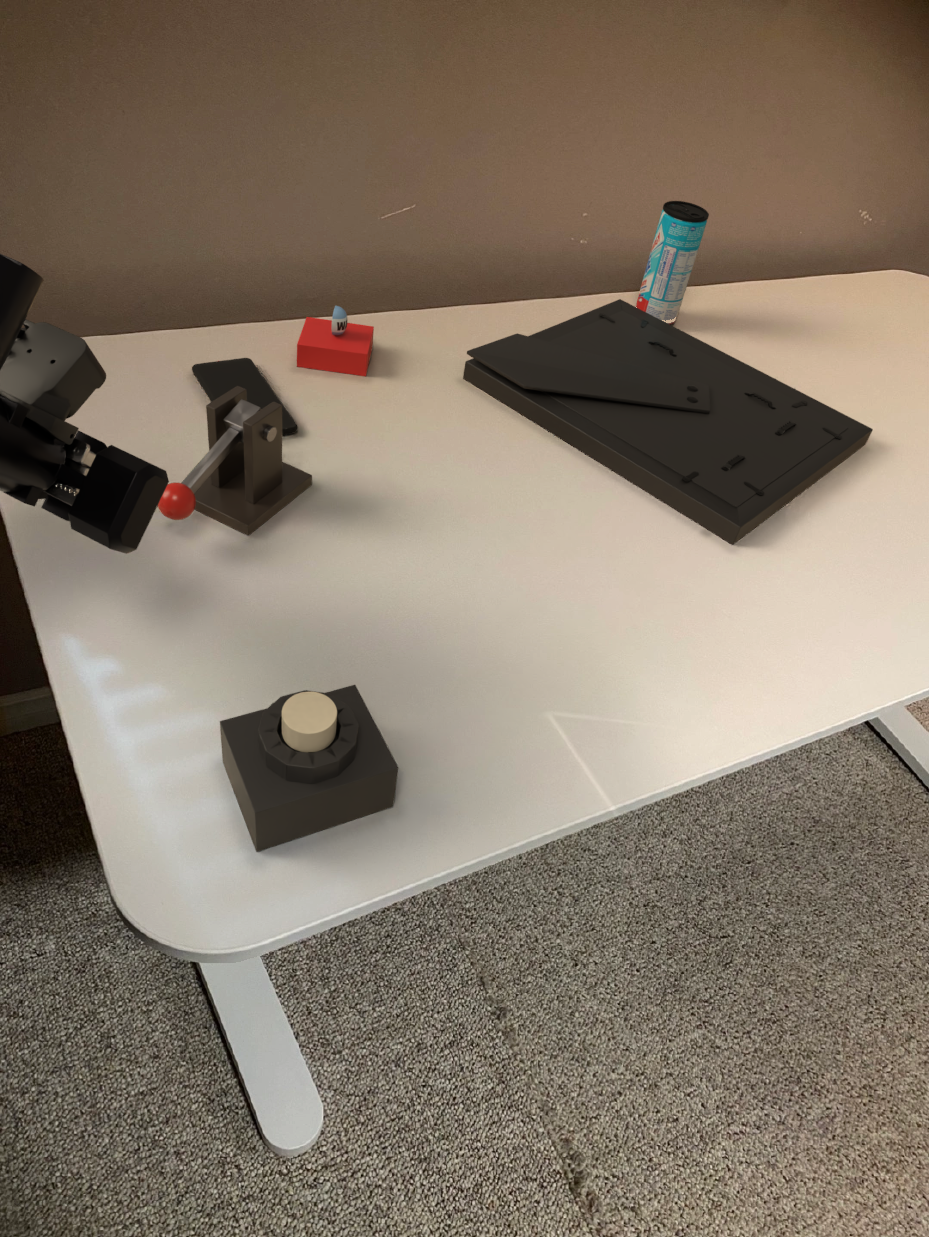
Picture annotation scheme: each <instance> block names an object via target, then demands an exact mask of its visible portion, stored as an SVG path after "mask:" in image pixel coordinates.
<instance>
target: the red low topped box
mask: <svg viewBox="0 0 929 1237" xmlns="http://www.w3.org/2000/svg"><path fill="white" fill-rule="evenodd" d="M374 329H375V326H373V325H368V324H367V325H366V324H359V323H352V322H348V314H347V312H346V310H345V309H344V308H343V307H341V306H339V305H334V309H333V312H332V318H331V319H324V318H317V317H310V316H306V317H305V320H304V323H303V326H302V329H301V331H300V334H299V338H298V340H297V343H296V368H304V369H312V370H318V371H326V372H331V373H333V372H334V373H339V374H340V373H341V374H347V375H348V374H349V375H354V376H355V375H356V376H361V377H367V374H368V369H369V365H370V359H371V356H372V351H373V345H374V344H373V342H374V331H375V330H374Z"/></svg>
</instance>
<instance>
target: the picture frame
mask: <svg viewBox="0 0 929 1237" xmlns="http://www.w3.org/2000/svg"><path fill="white" fill-rule="evenodd" d="M635 306H636V305H632V304H630V303H628V302H626V301H625V300H623V299H621V298H619V299H617V300H614V301H611V302H609V303H607V304H604V305H602V306H599V307H597V308H594V309H592V310H589V311H587V312H585V313H582V314H579V315H577V316H574V317H572V318H570V319H567V320H565V321H562V322H559V323H557V324H554V325H553V326H550V327H547V328H545V329H542V330H540V331H537V332H535V333H532V334H530V335H525V334H521V333H514V334H511V335H508V336H505V337H502V338H500V339H497V340H494V341H491V342H489V343H486V344H483V345H479V346H477V347H474V348H472V349H469V350H467V351H466V355H468V357H471V359H467V360H466V361H465V363H464V368H463V369H464V370H463V374H462V379H463V380H465V381H466V382H468V383H470V384H471V385H472V386H475V387H476V388H478V389H479V390H481V391H483V392H484V393H486V394H488V395H489V396H491V397H492V398H494V399H495V400H497V401H499V402H500V403H502V404H504V406H507V407H508V408H510V409H511V410H513V411H515V412H516V413H518V414H520V415H522V416H523V417H525V418H526V419H528V420H529V421H531V422H533V423H535V424H536V425H538V426H539V427H541V428H543V429H544V430H546V431H547V432H549V433H551V434H552V435H554V436H555V437H557V438H559V439H560V440H561V441H563V442H565V443H567V444H568V445H570V446H572V447H573V448H575V449H577V450H578V451H580V452H581V453H583V454H585V455H586V456H587V457H589V458H591V459H593V460H594V461H595V462H598V463H599V464H601V466H604V467H606V468H607V469H609V470H610V471H612V472H614V474H615V473H616V475H619V476H620V477H622V478H624V479H625V480H627V482H628V481H629V483H632V484H633V485H635V486H636V487H638V488H640V490H642V491H645V492H646V493H648V494H649V495H651V496H653V497H654V498H656V499H657V500H659V501H660V502H663V503H664V504H666V505H667V506H669V507H670V508H672V509H673V510H676V511H677V512H679V513H680V514H682V515H683V516H685V517H687V518H688V519H689V520H691V521H693V522H695V523H696V524H698V525H700V526H701V527H703V528H704V529H706V530H708V531H710V532H711V533H713V534H714V535H715V536H717V537H719V538H721V539H722V540H723V541H726V542H727V543H729V544H730V545H734V544H736V543H737V542H738V541H740V540H741V539H742V538H744V537H745V536H746V535H748V534H749V533H750V532H752V531H754V529H756V528H757V527H758V526H760V525H761V524H762V523H764V522H765V521H766V520H767V519H769V518H770V517H772V516H773V515H775V514H776V513H777V512H778V511H779V510H781V509H782V508H783V507H785V506H786V505H787V504H789V503H790V502H791V501H793V500H794V499H796V498H797V497H798V496H799V495H801V494H802V493H804V492H805V491H806V490H807V489H809V488H810V487H811V486H813V485H814V484H816V482H818V481H819V480H820V479H822V478H823V477H825V476H826V475H828V474H829V473H830V472H831V471H833V470H834V469H835V468H836V467H838V466H839V465H840V464H842V463H843V462H844V461H846V460H847V459H848V458H850V457H851V456H853V454H855V453H856V452H858V451H859V450H861V448H863V447H865V446H866V444H867V443H868V440H869V438H870V436H871V434H872V432H873V431H874V430H873V428H871V427H870V426H868V425H866V424H864V423H862V422H860V421H859V420H856V419H854V418H852V417H850V416H848V415H846V414H844V413H842V412H841V411H839V410H837V409H835V408H833V407H831V406H829V405H827V404H825V403H823V402H821V401H820V400H817V399H815V398H813V397H811V396H809V395H807V394H806V393H804V392H801V391H800V390H798V389H796V388H793V387H792V386H790V385H788V384H787V383H784V382H783V381H781V380H778V379H776V378H775V377H772V376H771V375H769V374H767V373H765V372H763V371H761V370H759V369H757V368H755V367H753V366H752V365H750V364H747V363H745V362H743V361H741V360H739V359H737V358H735V357H733V356H732V355H730V354H728V353H726V352H724V351H722V350H721V349H719V348H716V347H714V346H712V345H710V344H708V343H706V342H704V341H702V340H700V339H699V338H697V337H695V336H693V335H691V334H689V333H687V332H685V331H683V330H682V329H679V328H677V327H675V326H674V325H672V326H671V325H670V324H668V323H666V322H664V321H662V320H660V319H658V318H656V317H654V316H652V315H650V314H648V313H646V312H644V311H642V310H640V309H638V308H636V307H635Z"/></svg>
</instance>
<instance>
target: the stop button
mask: <svg viewBox="0 0 929 1237" xmlns="http://www.w3.org/2000/svg"><path fill="white" fill-rule="evenodd" d="M318 692H319V691H316V692H301V693H298V694H296V695H293V696H292V697H290V698H289V699H288V700H287V701H286V702H285V704H284V706H283V708H282V736H283V739H284V741H285V742H286V743H287V744H288V745H289V746H290V747H291V748H293V749H295V750H297V751H300V752H307V753H311V752H317V751H320V750H323V749H325V748H326V747H328V746H329V745H330V744H331V743H332V741H333V740H334V738H335V735H336V723H337V708H336V706H335V704H334V702H333V701H332V700H331V699H330V698H329V697H327V696H326V695H324V694H321V693H318Z"/></svg>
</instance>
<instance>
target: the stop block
mask: <svg viewBox="0 0 929 1237" xmlns="http://www.w3.org/2000/svg"><path fill="white" fill-rule="evenodd" d="M301 692H318V693H321V694H324V695H326V696H327V697H329V698H330V699H331V700H332V701H333V702H334V704H335V706H336V708H337V723H336V735H335V738H334V740H333V741H332V743H331V744H330V745H329V746H328V747H326V748H325V749H323V750H320V751H317V752H311V753H307V752H300V751H297V750H295V749H293V748H291V747H290V746H289V745H288V744H287V743H286V742H285V741H284V739H283V736H282V708H283V706H284V704H285V702H286V701H287V700H288V699H289V698H290V697H292V696H293V695H296V694H298V693H301ZM369 710H370V709H368V706H367V704H366V703H365V701H364V699H363V697H362V695H361V693H360V691H359V690H358V687H357V685H356V684H351V685H348V686H345V687H341V688H337V689H333V690H329V691H326V692H323V691H314V690H308V689H305V690H300V691H296V692H293V693H290V694H285V695H281V696H280V697H278V698H277V699H276V700H275V701H274V702H273V703H271V704H270V705H269V706H268V707H266V708H263V709H260V710H259V709H258V710H256V711H252V712H248V713H244V714H241V715H238V716H237V715H236V716H233V717H230V718H225V719H222V720H220V721H219V729H220V730H219V732H220V743H221V744H220V745H221V756H222V764H223V766H224V770H225V772H226V774H227V777H228V780H229V783H230V786H231V788H232V791H233V793H234V796H235V799H236V801H237V803H238V806H239V809H240V812H241V814H242V818H243V820H244V822H245V826H246V828H247V832H248V833H249V836H250V838H251V841H252V844H253V847H254V850H255V852H256V853H258V852H262V851H265V850H269V849H271V848H274V847H277V846H279V845H283V844H285V843H288V842H289V843H290V842H292V841H294V840H298V839H300V838H303V837H308V836H311V835H312V834H315V833H319V832H321V831H325V830H327V829H331V828H333V827H337V826H340V825H343V824H346V823H348V822H351V821H356V820H358V819H361V818H363V817H367V816H370V815H373V814H376V813H379V812H381V811H385V810H388V809H391V808H394V803H395V796H396V788H397V781H398V774H399V766H398V764H397V762H396V759H394V757H393V754H392V752H391V750H390V749H389V747H388V745H387V743H386V741H385V739H384V737H383V735H382V733H381V731H380V729H379V728H378V725H377V723H376V722H375V720H374V717H373V716H372V714H371V711H369Z"/></svg>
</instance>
